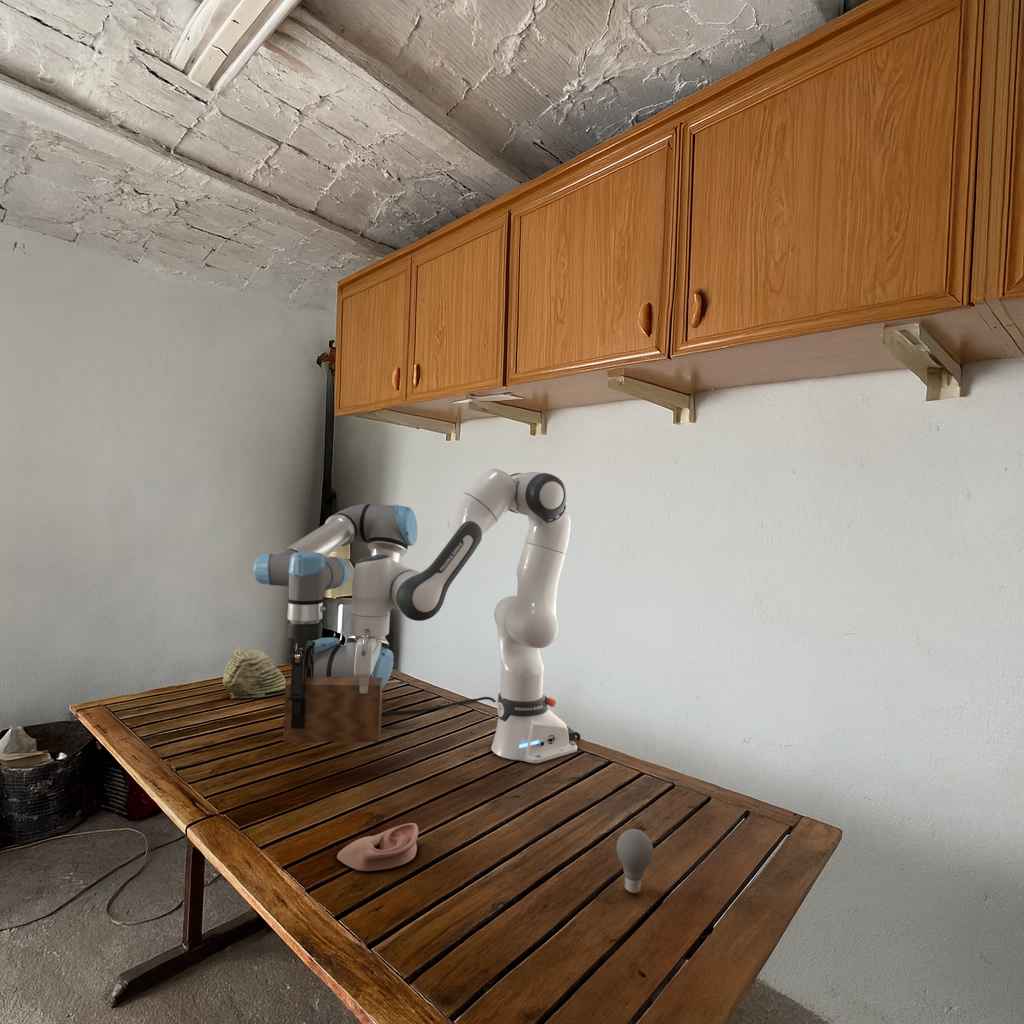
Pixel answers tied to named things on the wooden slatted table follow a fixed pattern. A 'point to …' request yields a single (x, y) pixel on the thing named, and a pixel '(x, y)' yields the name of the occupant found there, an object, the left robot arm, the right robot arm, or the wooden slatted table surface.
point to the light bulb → (634, 857)
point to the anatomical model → (382, 849)
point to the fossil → (252, 674)
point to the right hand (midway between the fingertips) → (366, 686)
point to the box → (336, 711)
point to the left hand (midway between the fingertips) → (301, 722)
